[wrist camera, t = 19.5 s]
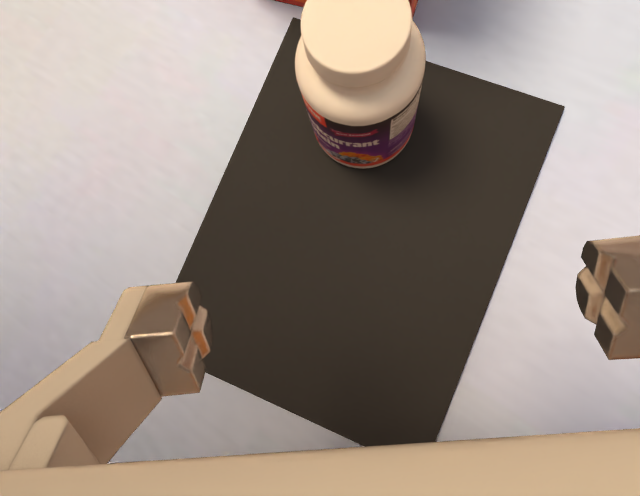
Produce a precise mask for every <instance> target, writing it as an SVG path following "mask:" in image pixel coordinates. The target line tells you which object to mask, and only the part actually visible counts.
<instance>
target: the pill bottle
mask: <svg viewBox="0 0 640 496" xmlns="http://www.w3.org/2000/svg"><path fill="white" fill-rule="evenodd" d="M301 34H302V35H301V37H300V40H299V42H298V46H297V50H296V55H295V72H296V79H297V82H298V85H299V88H300V91H301V94H302V97H303V100H304V103H305V106H306V109H307V112H308V115H309V118H310V121H311V124H312V127H313V130H314V133H315V136H316V138H317V140H318V142H319V144H320V146H321V147H322V149H323V150H324V151H325V152H326V153H327V154H328V155H329V156H330V157H331V158H332V159H334V160H335V161H337V162H338V163H340V164H343V165H345V166H348V167H353V168H362V169H364V168H373V167H377V166H380V165H382V164H385V163H387V162H389V161H390V160H392V159H393V158H394V157H396V156H397V155H398V154H399V153H400V152H401V151H402V150H403V148H404V147H405V146H406V144H407V142H408V141H409V139H410V136H411V133H412V131H413V127H414V123H415V117H416V113H417V108H418V103H419V98H420V92H421V87H422V82H423V77H424V71H425V61H426V54H425V47H424V42H423V39H422V36H421V34H420V32H419V30H418V28H417V26H416V24H415V23H414V22H413V20H412V11H411V7H410V3H409V1H408V0H307V1H306V3H305V5H304V8H303V11H302V15H301Z"/></svg>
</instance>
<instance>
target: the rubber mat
mask: <svg viewBox="0 0 640 496" xmlns="http://www.w3.org/2000/svg"><path fill="white" fill-rule="evenodd" d="M301 35H302V34H301V20H300V19H297V18H293V19H292V21H291V23H290V26H289V28H288V30H287V32H286V35H285V37H284V39H283V41H282V44H281V46H280V48H279V51H278V53H277V55H276V57H275V60H274V62H273V64H272V66H271V69H270V71H269V73H268V75H267V78H266V80H265V82H264V84H263V87H262V89H261V91H260V93H259V96H258V98H257V100H256V102H255V105H254V107H253V109H252V112H251V114H250V116H249V118H248V121H247V123H246V125H245V127H244V130H243V132H242V134H241V136H240V139H239V141H238V143H237V145H236V148H235V150H234V152H233V154H232V157H231V159H230V161H229V163H228V166H227V168H226V170H225V172H224V175H223V177H222V179H221V182H220V184H219V186H218V188H217V191H216V193H215V195H214V197H213V200H212V202H211V204H210V206H209V209H208V211H207V213H206V215H205V218H204V220H203V222H202V224H201V227H200V229H199V231H198V233H197V236H196V238H195V240H194V243H193V245H192V247H191V249H190V252H189V254H188V256H187V258H186V261H185V263H184V265H183V267H182V270H181V272H180V274H179V276H178V279H177V281H176V283H183V282H194V283H196V284H197V285H198V287H199V289H200V291H201V294H202V298H201V301H200V305H201V306H203V307H204V308H206V309H207V310H208V312H209V314H210V317H211V321H212V327H213V342H212V346H211V351H210V352H209V353H208V354H207V355H206V356H205V357H204V358H203V361H204V363H205V366H206V370H205V372H206V373H208V374H211V375H213V376H215V377H217V378H219V379H221V380H223V381H226V382H228V383H230V384H232V385H234V386H236V387H239V388H241V389H243V390H245V391H247V392H249V393H251V394H254V395H256V396H258V397H260V398H262V399H264V400H266V401H269V402H271V403H273V404H275V405H277V406H279V407H281V408H284V409H286V410H288V411H290V412H292V413H294V414H296V415H299V416H301V417H303V418H305V419H307V420H309V421H311V422H314V423H316V424H318V425H320V426H322V427H324V428H326V429H329V430H331V431H333V432H335V433H337V434H339V435H341V436H344V437H346V438H348V439H350V440H352V441H354V442H356V443H359V444H361V445H363V446H365V447H366V446H381V445H397V444H412V443H427V442H435V440H436V438H437V435H438V433H439V430H440V427H441V425H442V422H443V420H444V417H445V414H446V412H447V409H448V407H449V404H450V402H451V399H452V396H453V394H454V391H455V389H456V386H457V383H458V381H459V378H460V376H461V373H462V371H463V368H464V365H465V363H466V360H467V358H468V355H469V352H470V350H471V347H472V345H473V342H474V340H475V337H476V334H477V332H478V329H479V327H480V324H481V321H482V319H483V316H484V314H485V311H486V309H487V306H488V303H489V301H490V298H491V296H492V293H493V290H494V288H495V285H496V283H497V280H498V278H499V275H500V272H501V270H502V267H503V265H504V262H505V260H506V257H507V254H508V252H509V249H510V247H511V244H512V241H513V239H514V236H515V234H516V231H517V229H518V226H519V223H520V221H521V218H522V216H523V213H524V210H525V208H526V205H527V203H528V200H529V198H530V195H531V192H532V190H533V187H534V185H535V182H536V179H537V177H538V174H539V172H540V169H541V167H542V164H543V161H544V159H545V156H546V154H547V151H548V148H549V146H550V143H551V141H552V138H553V136H554V133H555V130H556V128H557V125H558V123H559V120H560V117H561V115H562V112H563V110H564V106H561V105H558V104H555V103H552V102H549V101H546V100H543V99H540V98H537V97H534V96H531V95H528V94H525V93H522V92H519V91H516V90H513V89H510V88H507V87H504V86H500V85H497V84H494V83H491V82H488V81H485V80H482V79H479V78H476V77H473V76H470V75H467V74H464V73H461V72H458V71H455V70H452V69H449V68H446V67H443V66H440V65H437V64H434V63H430V62H427V61H425V71H424V77H423V82H422V87H421V92H420V98H419V103H418V108H417V113H416V117H415V123H414V127H413V131H412V133H411V136H410V139H409V141H408V142H407V144H406V146H405V147H404V148H403V150H402V151H401V152H400V153H399V154H398V155H397V156H396V157H394V158H393V159H392V160H390V161H389V162H387V163H385V164H382V165H380V166H377V167H373V168H364V169H362V168H353V167H348V166H345V165H343V164H340V163H338V162H337V161H335V160H334V159H332V158H331V157H330V156H329V155H328V154H327V153H326V152H325V151H324V150H323V149H322V147H321V146H320V144H319V142H318V140H317V138H316V136H315V133H314V130H313V127H312V124H311V121H310V118H309V115H308V112H307V109H306V106H305V103H304V100H303V97H302V94H301V91H300V88H299V85H298V82H297V79H296V72H295V55H296V50H297V46H298V42H299V40H300V37H301Z"/></svg>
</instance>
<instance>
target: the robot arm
mask: <svg viewBox="0 0 640 496" xmlns="http://www.w3.org/2000/svg"><path fill="white" fill-rule="evenodd" d="M581 258H582V259H583V261H584V263H585V264H586V267H585V268H584V269H582V270H581V271H580V272H579V273H578V275H577V281H576V296H577V301H578V304H579V307H580V310H581V312H582V314H583V316H584V317H585V319H587V320H589V321H590V322H592V323H594V324H596V329H595V333H594V335H595V337H596V339H597V340H598V342H599V344H600V346H601V347H602V349H603V351H604V353H605V354H606V356H607V358H608V359H609V360H615V359H633V358H640V235H639V236H630V237H621V238H611V239H602V240H593V241H587V242H586V244H585V245H584V247H583V251H582V255H581ZM201 298H202V294H201V291H200V289H199V287H198V285H197V284H196V283H194V282H183V283H171V284H158V285H150V286H138V287H129V288H127V289H126V290H124V291H123V293H122V295H121V297H120V299H119V301H118V303H117V305H116V307H115V309H114V311H113V313H112V315H111V317H110V319H109V321H108V323H107V325H106V327H105V329H104V331H103V333H102V335H101V337H100V339H99V341H96V342H91V343H90V344H88V345H87V346H86V347H84V348H83V349H82V350H81V351H79V352H78V353H77V354H75V355H74V356H73V357H71V358H70V359H69V360H68V361H66V362H65V363H64V364H62V365H61V366H60V367H58V368H57V369H56V370H55V371H53V372H52V373H51V374H49V375H48V376H47V377H45V378H44V379H43V380H42V381H40V382H39V383H38V384H36V385H35V386H34V387H32V388H31V389H30V390H29V391H27V392H26V393H25V394H23V395H22V396H21V397H19V398H18V399H17V400H16V401H14V402H13V403H12V404H10V405H9V406H8V407H6V408H5V409H4V410H3V411H1V412H0V496H640V428H638V429H623V430H608V431H593V432H578V433H562V434H547V435H532V436H517V437H502V438H487V439H472V440H457V441H442V442H427V443H412V444H397V445H381V446H366V447H351V448H336V449H321V450H306V451H291V452H276V453H261V454H246V455H231V456H216V457H201V458H186V459H171V460H156V461H140V462H125V463H110V464H107V463H108V461H109V460H110V459H111V458H112V457H113V456H114V454H115V453H116V452H117V451H118V450H119V449H120V447H121V446H122V445H123V444H124V443H125V442H126V440H127V439H128V438H129V437H130V436H131V435H132V433H133V432H134V431H135V430H136V429H137V427H138V426H139V425H140V424H141V423H142V422H143V420H144V419H145V418H146V417H147V416H148V415H149V413H150V412H151V411H152V410H153V409H154V408H155V406H156V405H157V404H158V403H159V402H160V401H161V399H162V397H163V396H172V395H182V394H191V393H200V390H201V386H202V382H203V378H204V374H205V370H206V366H205V363H204V361H203V358H204V357H205V356H206V355H207V354H208V353H209V352H210V351H211V346H212V342H213V327H212V321H211V317H210V314H209V312H208V310H207V309H206V308H204V307H203V306H201V305H200V301H201Z"/></svg>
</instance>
